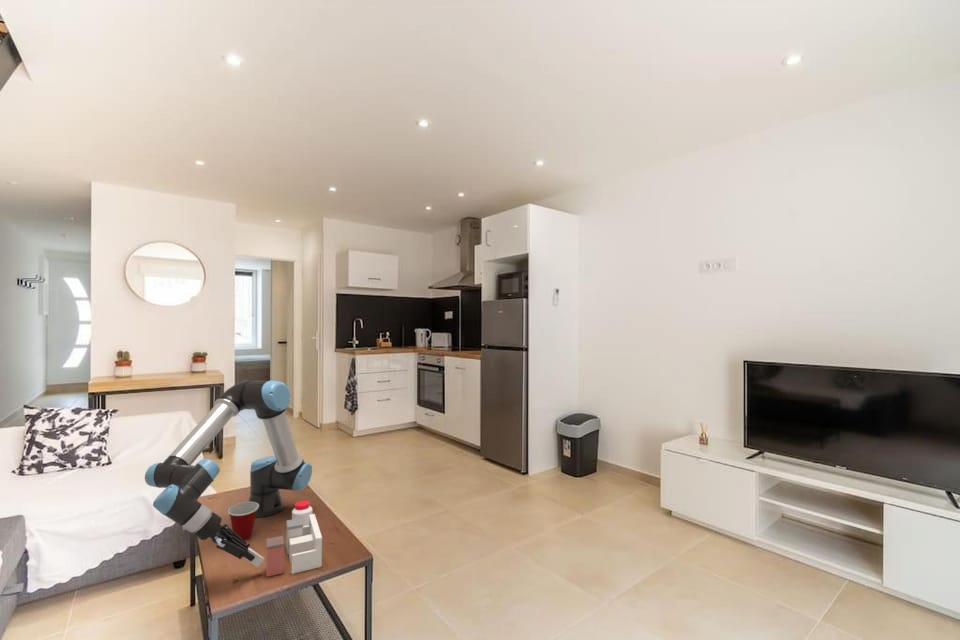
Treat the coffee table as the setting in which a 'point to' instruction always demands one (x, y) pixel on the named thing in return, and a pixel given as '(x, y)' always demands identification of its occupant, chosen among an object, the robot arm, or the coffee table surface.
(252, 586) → the coffee table surface
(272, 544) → the capped red pillar
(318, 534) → the rack
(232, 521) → the plastic cup
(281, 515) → the coffee table surface
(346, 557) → the coffee table surface
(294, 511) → the pill bottle
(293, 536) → the grey capped white pillar
